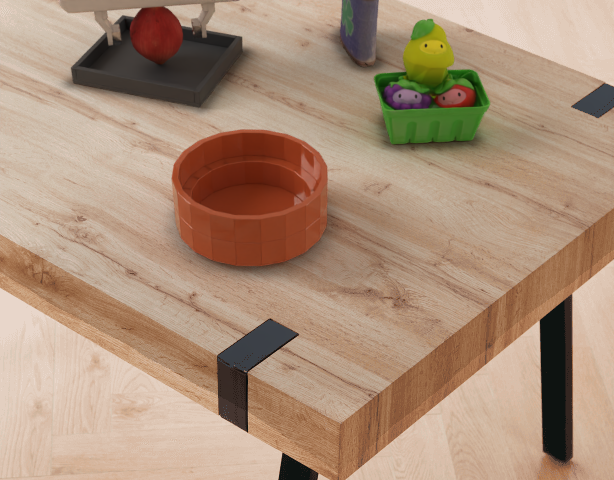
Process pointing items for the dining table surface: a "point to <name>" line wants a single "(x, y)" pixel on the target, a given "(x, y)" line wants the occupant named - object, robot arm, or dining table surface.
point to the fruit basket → (430, 92)
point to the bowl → (250, 197)
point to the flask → (359, 30)
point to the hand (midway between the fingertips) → (157, 39)
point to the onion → (156, 34)
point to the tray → (159, 66)
